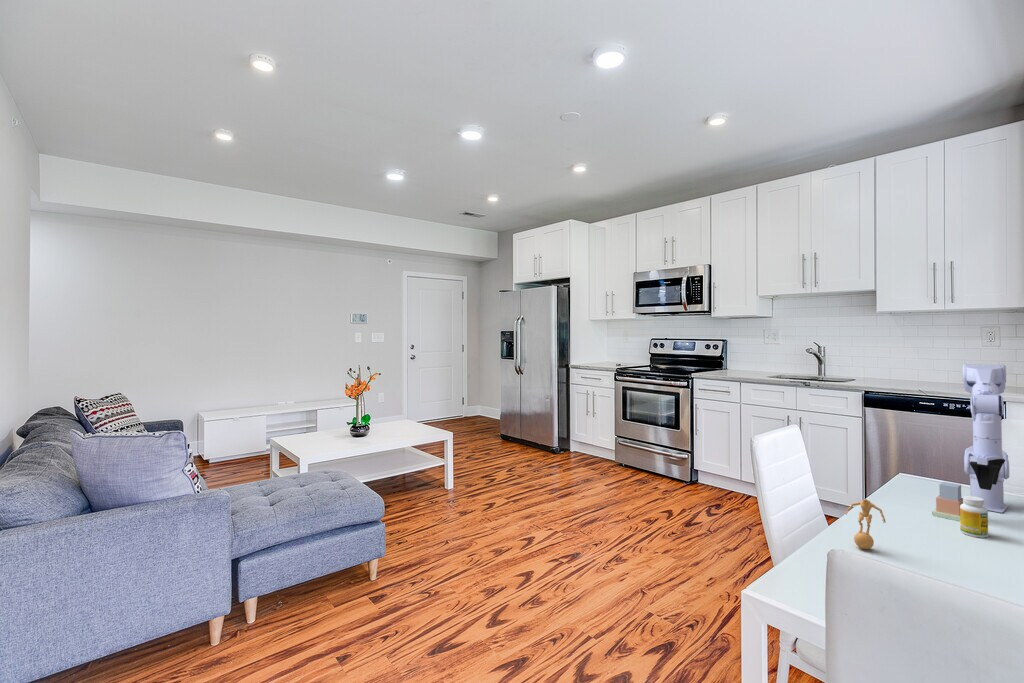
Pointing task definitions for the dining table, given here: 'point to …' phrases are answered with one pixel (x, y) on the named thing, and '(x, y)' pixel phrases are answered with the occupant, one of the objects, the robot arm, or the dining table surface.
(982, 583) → the dining table surface
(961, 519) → the supplement bottle
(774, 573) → the dining table surface
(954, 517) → the plate
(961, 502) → the terracotta brick
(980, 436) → the robot arm
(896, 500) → the dining table surface
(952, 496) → the slate brick
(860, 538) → the figurine
